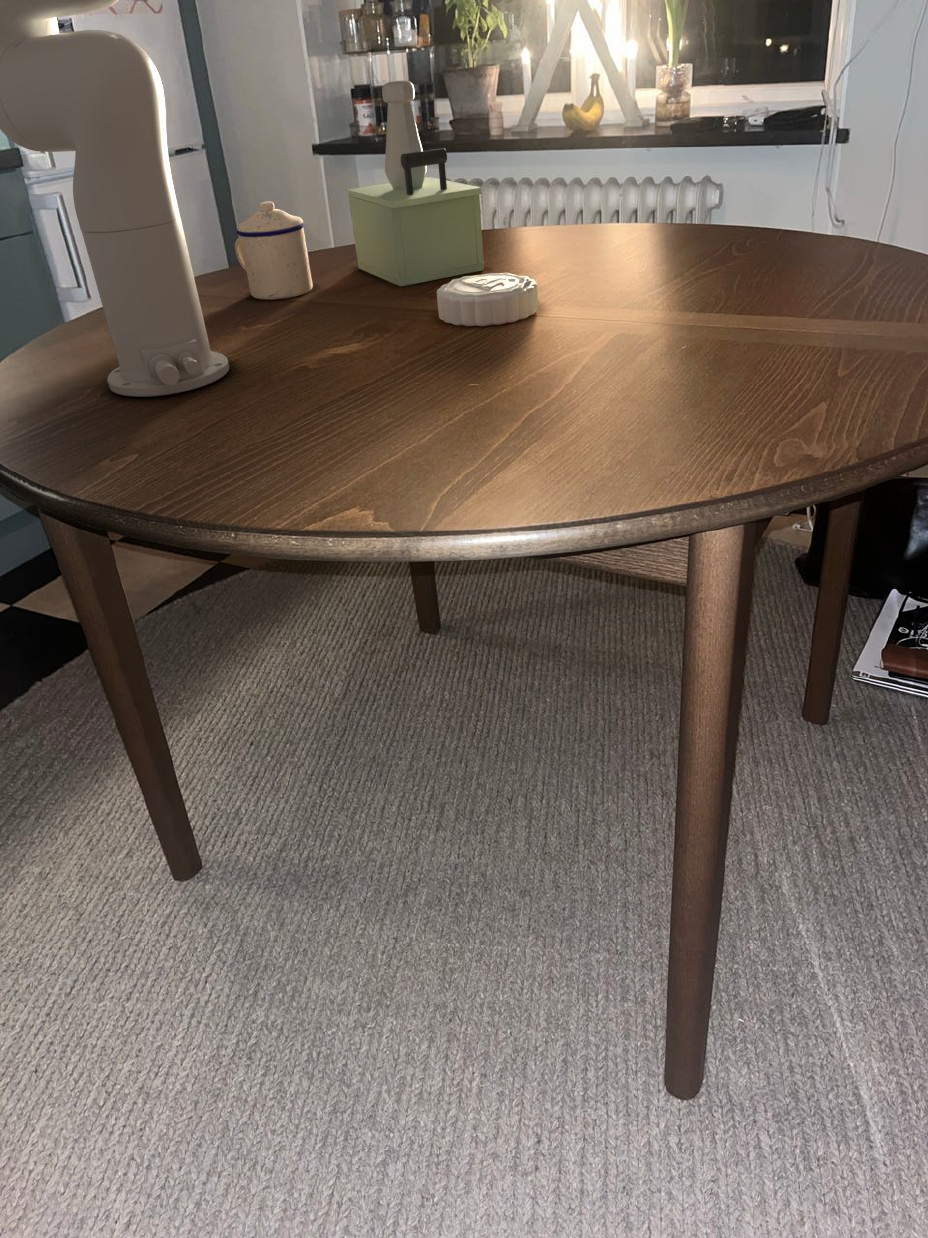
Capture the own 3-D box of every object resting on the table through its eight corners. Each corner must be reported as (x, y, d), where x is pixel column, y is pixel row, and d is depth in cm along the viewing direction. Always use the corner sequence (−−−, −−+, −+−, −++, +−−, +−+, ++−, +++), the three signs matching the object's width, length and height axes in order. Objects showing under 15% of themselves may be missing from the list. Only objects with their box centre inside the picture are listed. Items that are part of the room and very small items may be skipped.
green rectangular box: (484, 269, 132) (479, 193, 127) (400, 286, 128) (391, 207, 123) (436, 253, 145) (429, 182, 140) (358, 268, 140) (348, 195, 135)
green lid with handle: (482, 193, 127) (478, 145, 123) (393, 208, 122) (388, 159, 119) (429, 182, 140) (426, 138, 136) (348, 195, 135) (342, 150, 132)
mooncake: (557, 312, 110) (557, 280, 108) (469, 333, 106) (467, 300, 104) (504, 294, 119) (502, 265, 118) (421, 313, 115) (417, 283, 113)
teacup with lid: (328, 286, 132) (314, 196, 125) (283, 302, 126) (266, 209, 119) (267, 281, 138) (251, 195, 132) (221, 296, 132) (202, 207, 126)
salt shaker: (381, 191, 130) (368, 84, 123) (395, 184, 135) (384, 80, 128) (420, 190, 128) (410, 80, 121) (434, 183, 133) (424, 77, 126)
